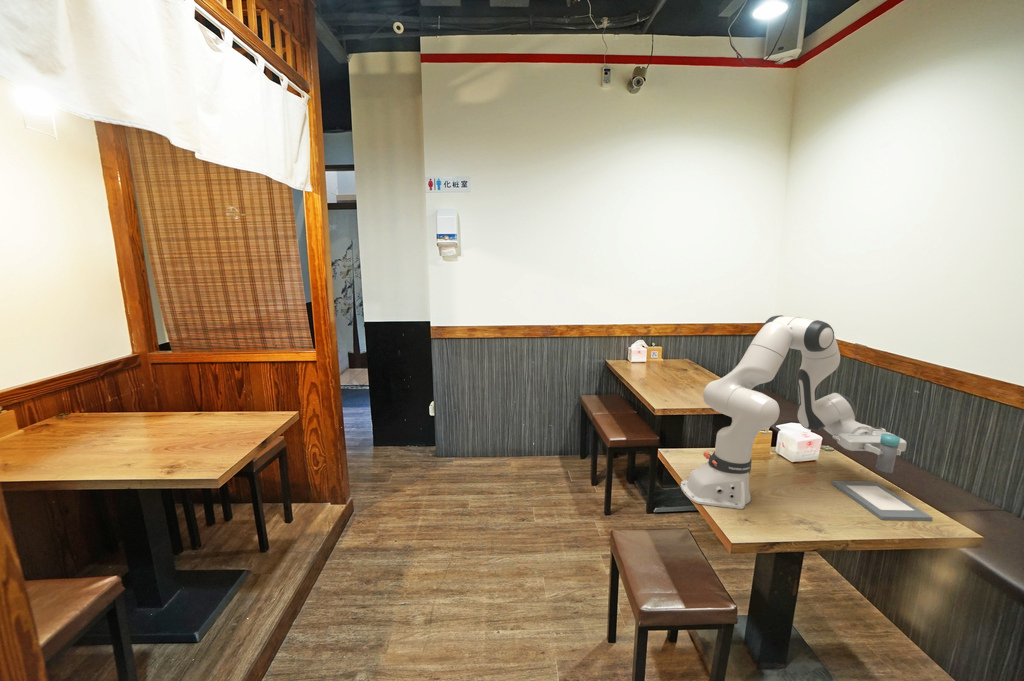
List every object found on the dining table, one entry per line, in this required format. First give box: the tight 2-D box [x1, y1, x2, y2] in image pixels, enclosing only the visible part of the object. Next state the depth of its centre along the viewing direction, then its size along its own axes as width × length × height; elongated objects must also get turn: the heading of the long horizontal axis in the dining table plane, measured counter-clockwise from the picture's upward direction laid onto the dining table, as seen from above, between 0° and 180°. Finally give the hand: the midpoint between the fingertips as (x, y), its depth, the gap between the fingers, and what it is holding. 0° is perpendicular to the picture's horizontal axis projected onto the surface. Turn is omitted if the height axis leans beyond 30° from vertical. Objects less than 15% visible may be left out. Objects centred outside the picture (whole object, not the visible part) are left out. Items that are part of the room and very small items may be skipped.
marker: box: [875, 433, 901, 474], centre depth 145 cm, size 5×5×12 cm
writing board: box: [831, 480, 934, 522], centre depth 148 cm, size 16×22×1 cm
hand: (890, 452), depth 144 cm, fingers closed on marker, 4 cm apart
